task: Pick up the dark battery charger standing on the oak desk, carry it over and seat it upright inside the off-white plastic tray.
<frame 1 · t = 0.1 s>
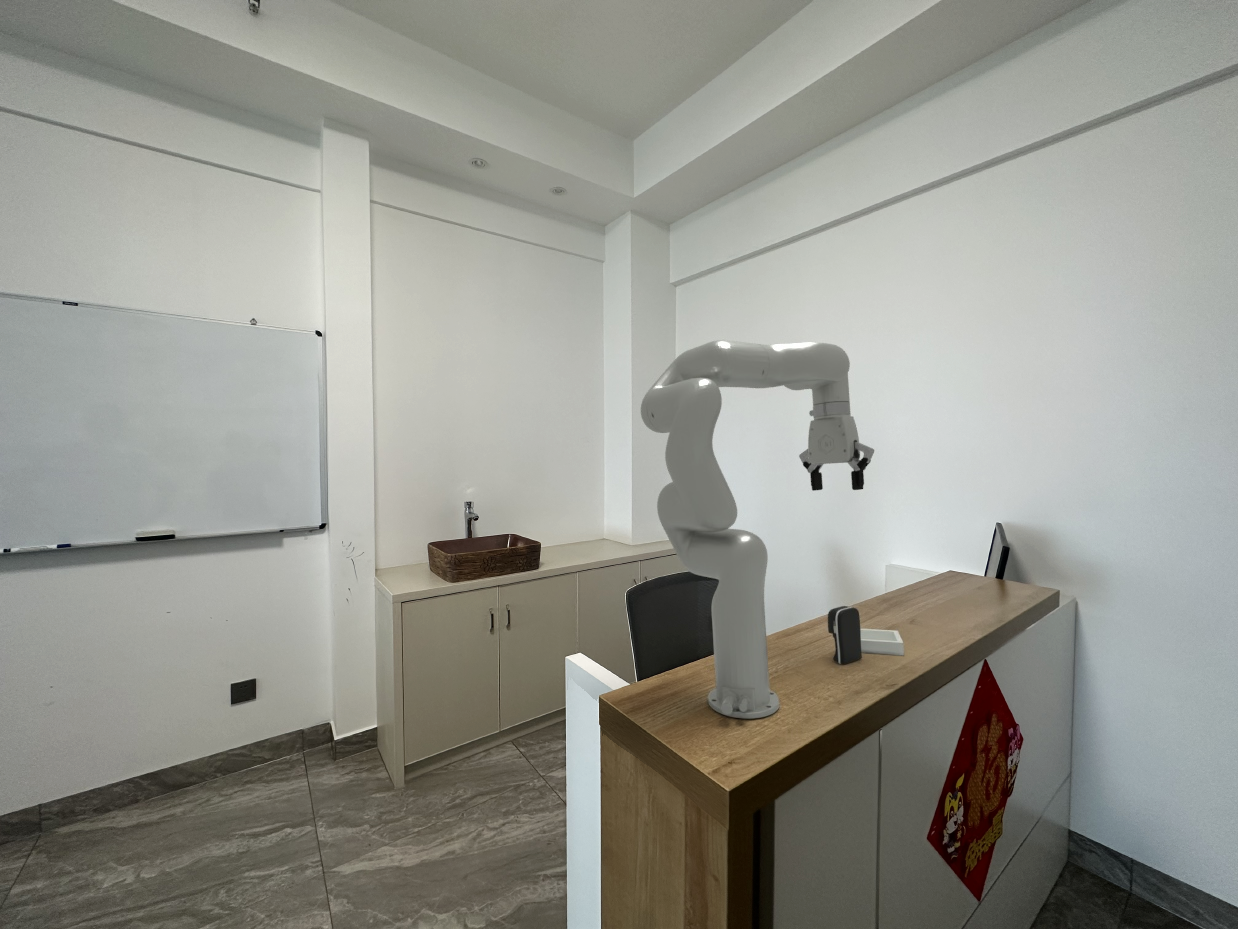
hand: (836, 489, 112), 37 cm above the table, tool pointing down, fingers open, 9 cm apart
tray: (871, 647, 118), on the table
battery charger: (845, 661, 111), on the table
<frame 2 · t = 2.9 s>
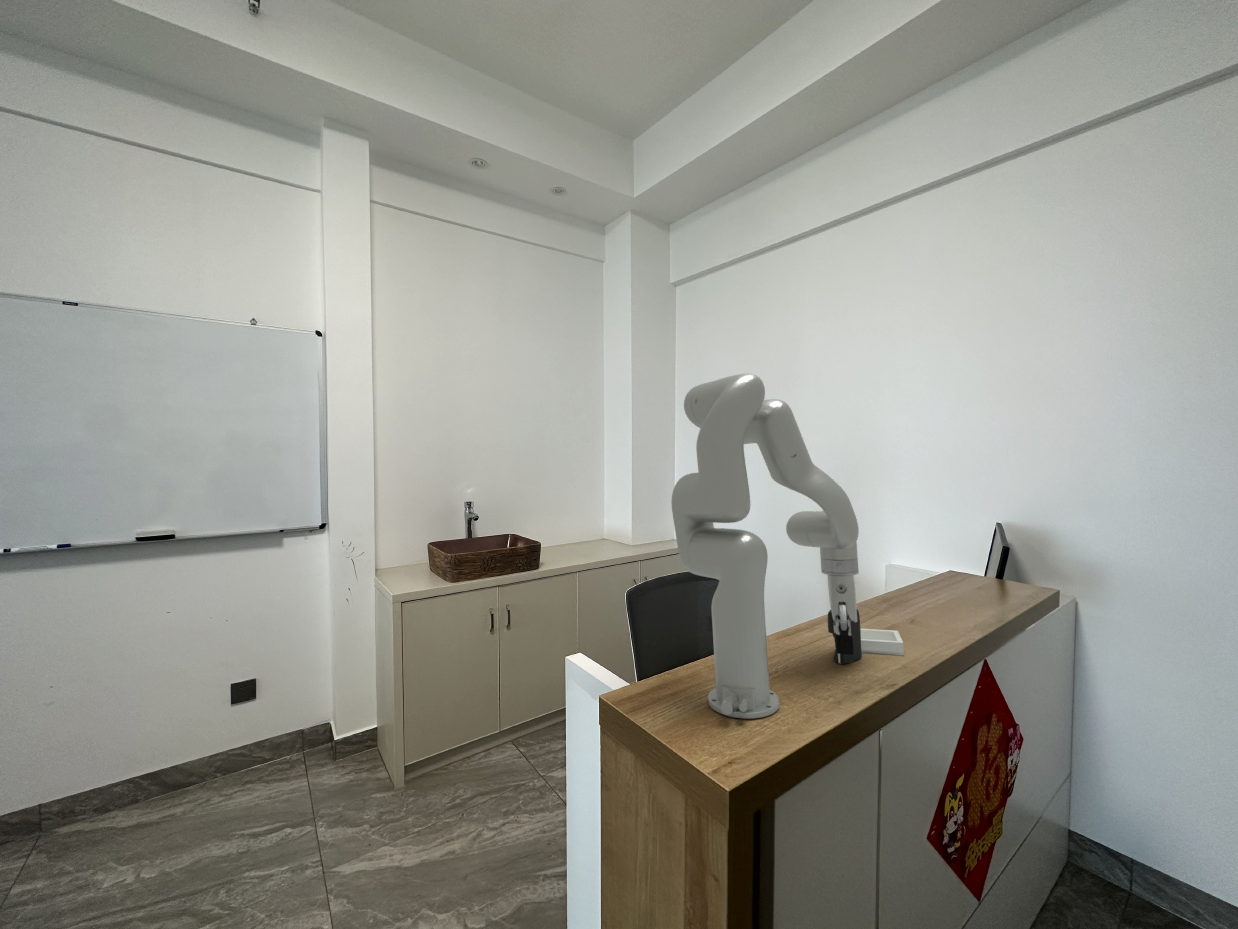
hand: (844, 647, 111), 3 cm above the table, tool pointing down, fingers closed on battery charger, 7 cm apart
battery charger: (845, 660, 111), on the table, touching gripper
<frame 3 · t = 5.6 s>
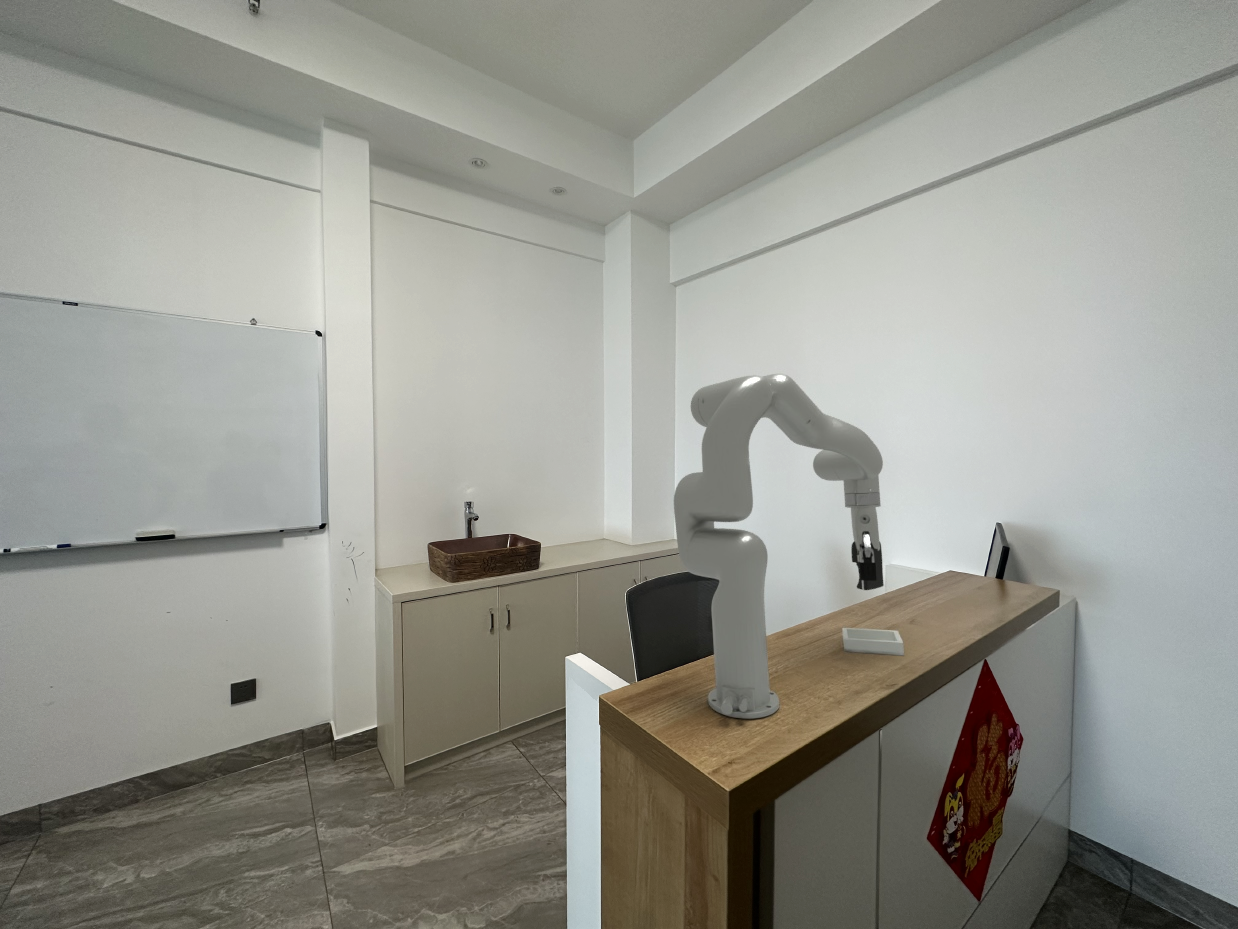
hand: (867, 576, 118), 16 cm above the table, tool pointing down, fingers closed on battery charger, 7 cm apart
battery charger: (868, 589, 119), point 13 cm above the table, touching gripper
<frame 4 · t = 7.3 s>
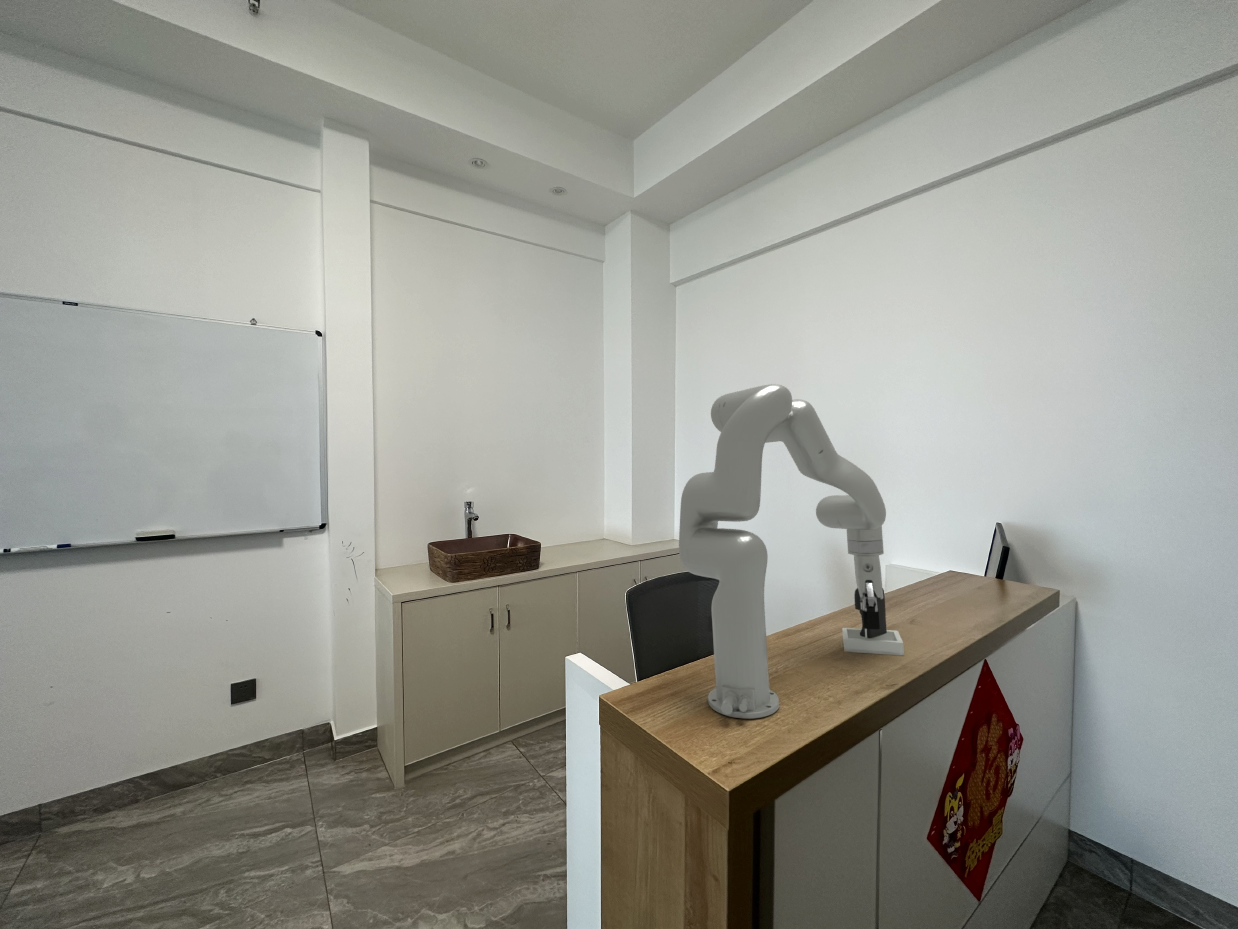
hand: (870, 623, 118), 6 cm above the table, tool pointing down, fingers closed on battery charger, 7 cm apart
battery charger: (871, 636, 118), point 3 cm above the table, touching gripper
when the fingers open (4 cm above the table, at t = 8.6 s): battery charger drops 1 cm, resting on tray.
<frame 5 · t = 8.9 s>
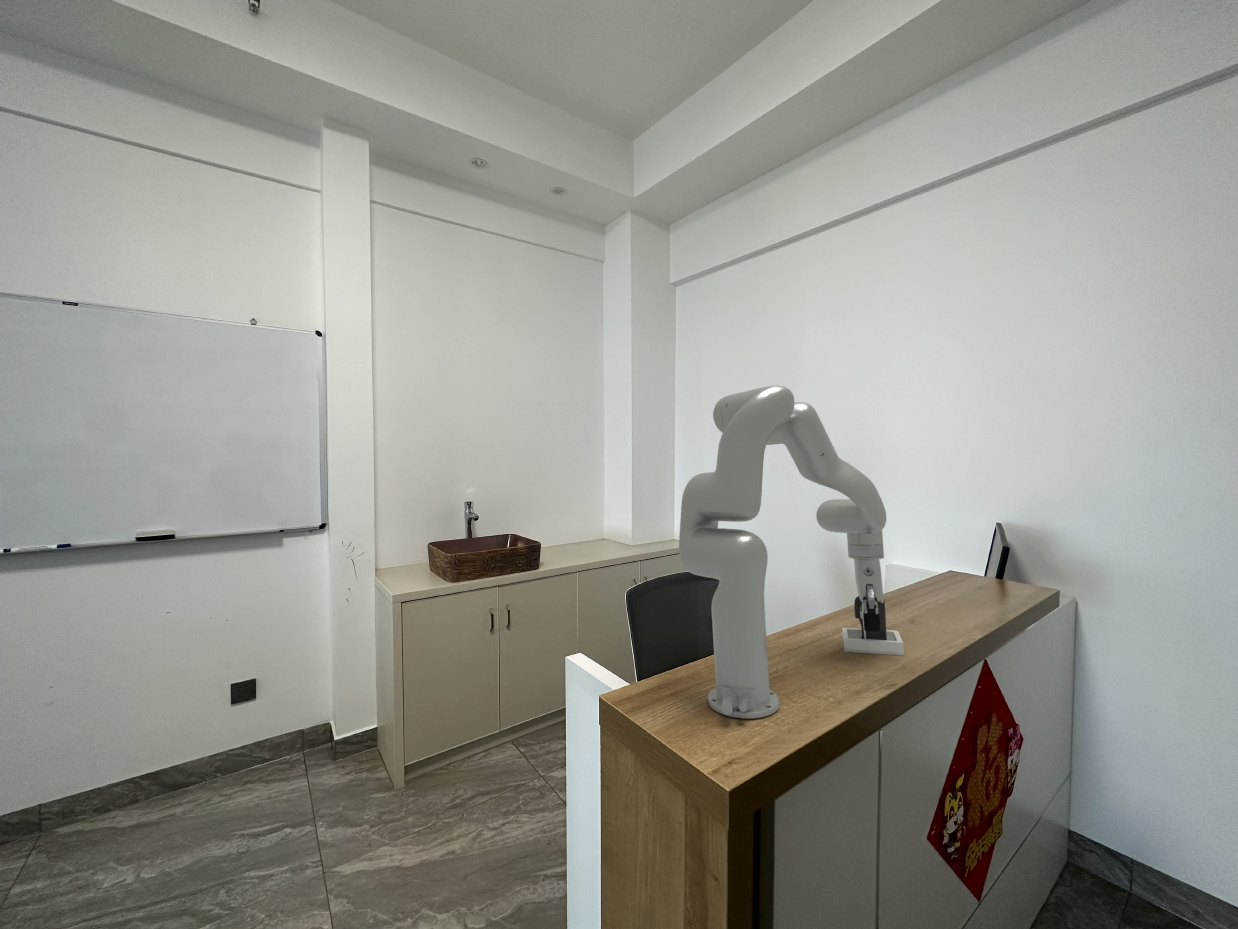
hand: (870, 624, 118), 5 cm above the table, tool pointing down, fingers open, 9 cm apart
battery charger: (871, 644, 118), resting on tray
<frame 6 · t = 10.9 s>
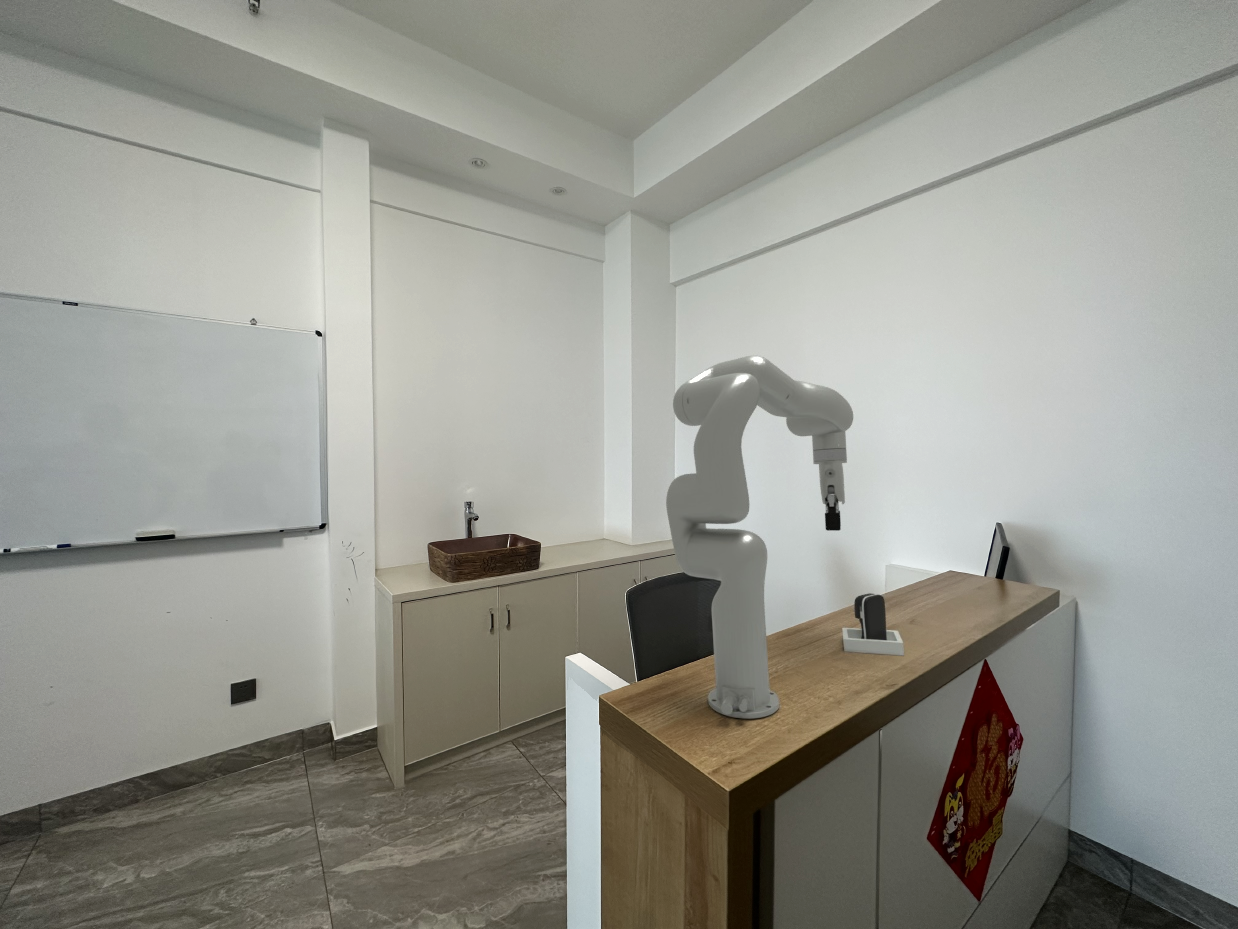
hand: (833, 528, 122), 27 cm above the table, tool pointing down, fingers open, 9 cm apart
nothing on the table moved.
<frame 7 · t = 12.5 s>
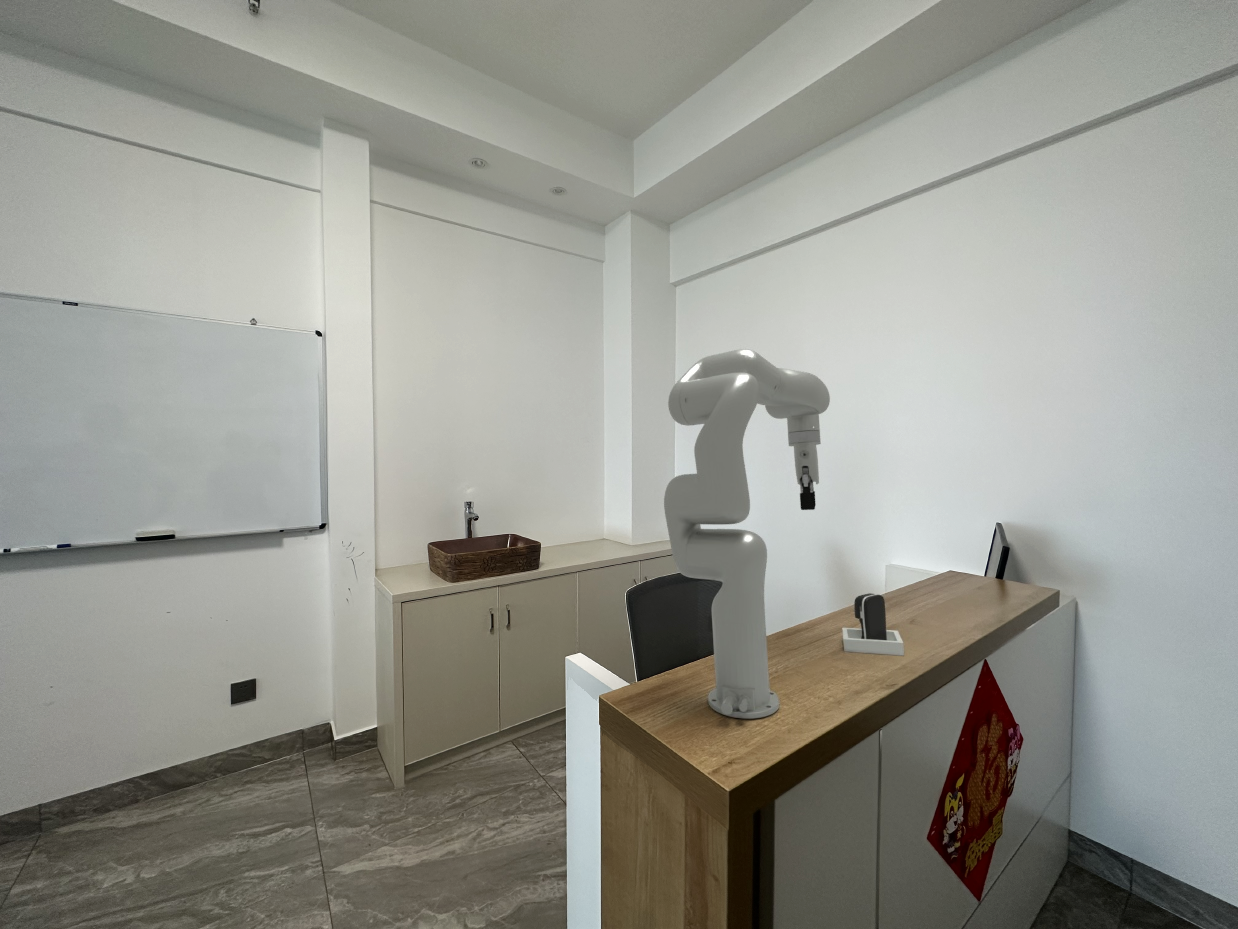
hand: (808, 508, 126), 32 cm above the table, tool pointing down, fingers open, 9 cm apart
nothing on the table moved.
at the end: battery charger inside the target area on the tray (0.4 cm from its centre), point 0.4 cm above the tray's base; battery charger tilted 0°; the gripper is holding nothing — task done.
